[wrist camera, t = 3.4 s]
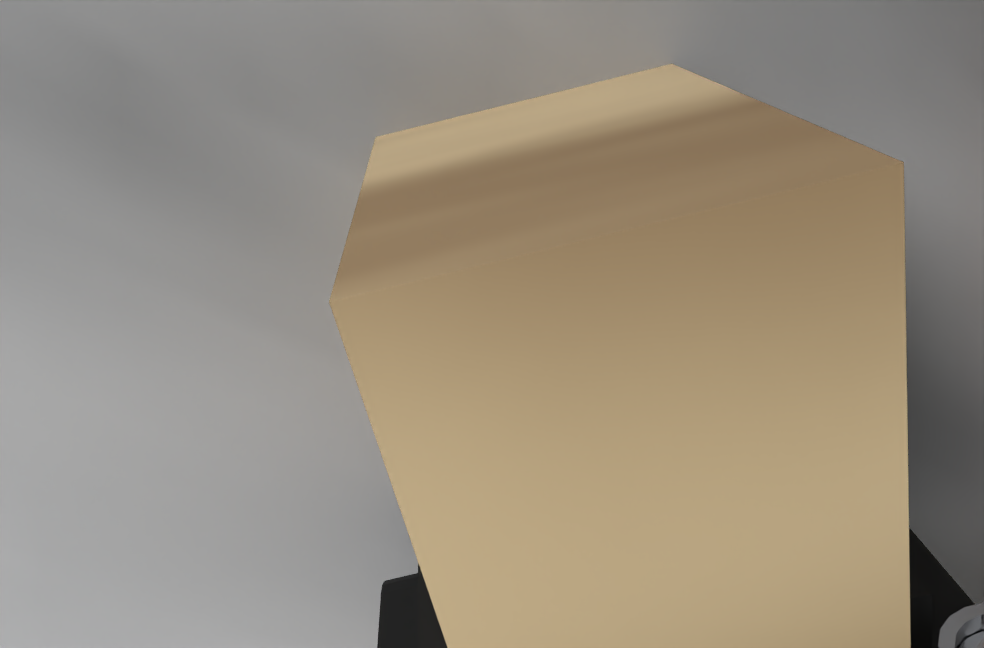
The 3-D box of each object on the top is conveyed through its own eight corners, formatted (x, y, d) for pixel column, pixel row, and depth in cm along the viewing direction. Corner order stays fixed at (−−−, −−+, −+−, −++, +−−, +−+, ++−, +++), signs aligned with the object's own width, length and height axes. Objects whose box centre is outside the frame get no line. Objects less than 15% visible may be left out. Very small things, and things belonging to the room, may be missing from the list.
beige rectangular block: (376, 136, 9) (328, 302, 5) (670, 63, 9) (904, 161, 5) (567, 799, 14) (632, 1188, 10) (761, 756, 14) (916, 1126, 10)
